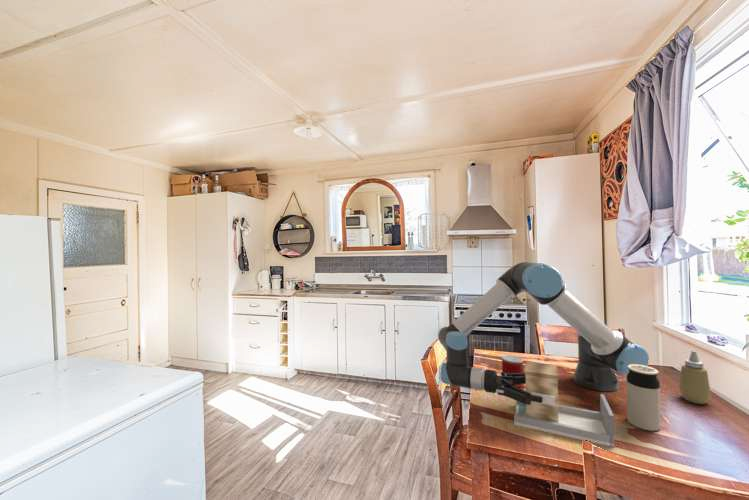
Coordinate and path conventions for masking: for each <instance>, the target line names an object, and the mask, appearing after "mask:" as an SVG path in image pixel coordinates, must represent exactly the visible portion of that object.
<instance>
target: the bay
mask: <svg viewBox="0 0 749 500" xmlns="http://www.w3.org/2000/svg"><path fill="white" fill-rule="evenodd" d="M599 398H600V399H599V400H600V403H599V405H600V408H599V409H600V412H599V411H594V410H589V409H585V408H580V407H575V406H568V405H564V404H559V403H558V423H556V422H551V421H546V420H542V419H537V418H532V417H527V416H526V404H524V403H521V402H519V401H516V400H515V401H516V402H515V412H514V416H513V420H514V421H513V422H514V426H518V427H521V428H525V429H526V428H527V429H531V430H536V431H541V432H545V433H549V434H554V435H558V436H562V437H567V438H572V439H575V440H580V441H584V440H588V441H591V442H590V443H594V444H598V445H603V446H607V447H611V448H615V415H614V413H613V410H612V409H611V407H610V405H609V402H608V400H607V398H606V396H605V394H602V393H600V395H599ZM588 441H587V442H588Z"/></svg>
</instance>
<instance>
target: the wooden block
mask: <svg viewBox="0 0 749 500" xmlns="http://www.w3.org/2000/svg"><path fill="white" fill-rule="evenodd" d="M524 368H525V369H524V373H525V375H526V384H525V391H526V392H528V393H530V394H531V392H534V393H540V394H546V395H551V396H555V406H553V405H547V404H542V403H537V402H532V401H531V404H530V405H529V404H526V416H527V417H532V418H537V419H542V420H546V421H551V422H556V423H558V404H559V383H558V382H559V380H560V379H559V372H558V366H557V365H556V364H555V365H554V364H549V363H548V364H547V363H542V362H534V361H527V360H526V361H525V367H524Z"/></svg>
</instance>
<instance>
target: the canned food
mask: <svg viewBox="0 0 749 500" xmlns="http://www.w3.org/2000/svg"><path fill="white" fill-rule="evenodd" d="M501 365H502V367H501V370H502V372H504V373H524V359H523V358H522V357H520V356H518V355H510V354H509V355H508V354H507V355H503V356H501ZM515 386H516V387H518V388H520V389H522V388H523V386H524V384H518V385H515Z"/></svg>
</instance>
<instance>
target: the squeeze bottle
mask: <svg viewBox="0 0 749 500" xmlns="http://www.w3.org/2000/svg"><path fill="white" fill-rule="evenodd" d="M680 369H681V370H680V376H679V384H678V388H679V391H680V393H681V396H682V398H683V399H684V400H686V401H688V402H690V403H694V404H700V405H705V404H707V402H708V401H709V398H710V397H711V388H710V387H711V385H710V381H709V373H708V371H707V369H705V368H704V363H703V361H700V359H699V356H698V352H697V351H695V350H691V352H690V355H689V359H687V358H686V359H684V364H683V365H681V368H680Z"/></svg>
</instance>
